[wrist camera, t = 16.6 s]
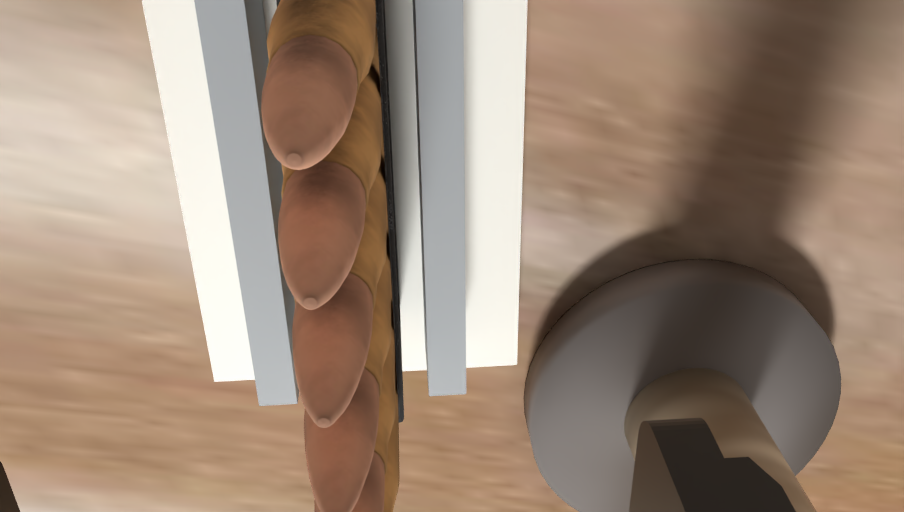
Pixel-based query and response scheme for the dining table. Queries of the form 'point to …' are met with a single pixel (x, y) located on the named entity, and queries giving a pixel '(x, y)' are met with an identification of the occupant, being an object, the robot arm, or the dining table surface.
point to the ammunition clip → (339, 242)
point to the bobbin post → (679, 378)
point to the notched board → (414, 172)
